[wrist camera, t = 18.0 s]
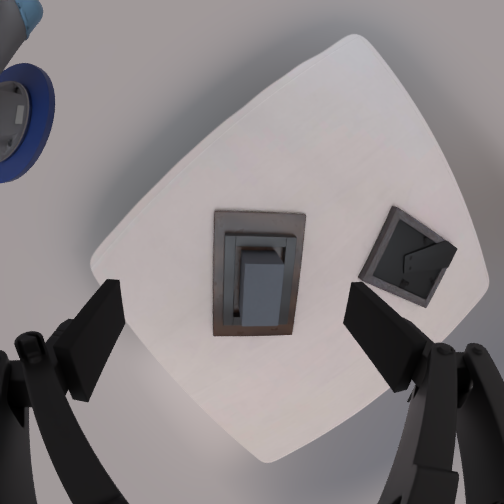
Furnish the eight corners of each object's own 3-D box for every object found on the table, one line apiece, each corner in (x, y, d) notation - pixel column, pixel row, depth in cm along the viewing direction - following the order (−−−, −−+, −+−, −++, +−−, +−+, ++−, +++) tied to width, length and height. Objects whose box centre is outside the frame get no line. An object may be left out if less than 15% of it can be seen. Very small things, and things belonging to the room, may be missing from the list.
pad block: (270, 306, 45) (278, 325, 39) (238, 306, 44) (241, 326, 38) (275, 250, 42) (284, 264, 36) (241, 249, 41) (244, 263, 36)
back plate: (290, 331, 48) (294, 339, 45) (213, 332, 46) (213, 341, 44) (304, 213, 42) (309, 216, 40) (214, 210, 40) (214, 213, 38)
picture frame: (451, 245, 47) (392, 205, 43) (457, 248, 45) (398, 207, 41) (421, 304, 50) (358, 277, 46) (427, 309, 48) (363, 281, 44)
